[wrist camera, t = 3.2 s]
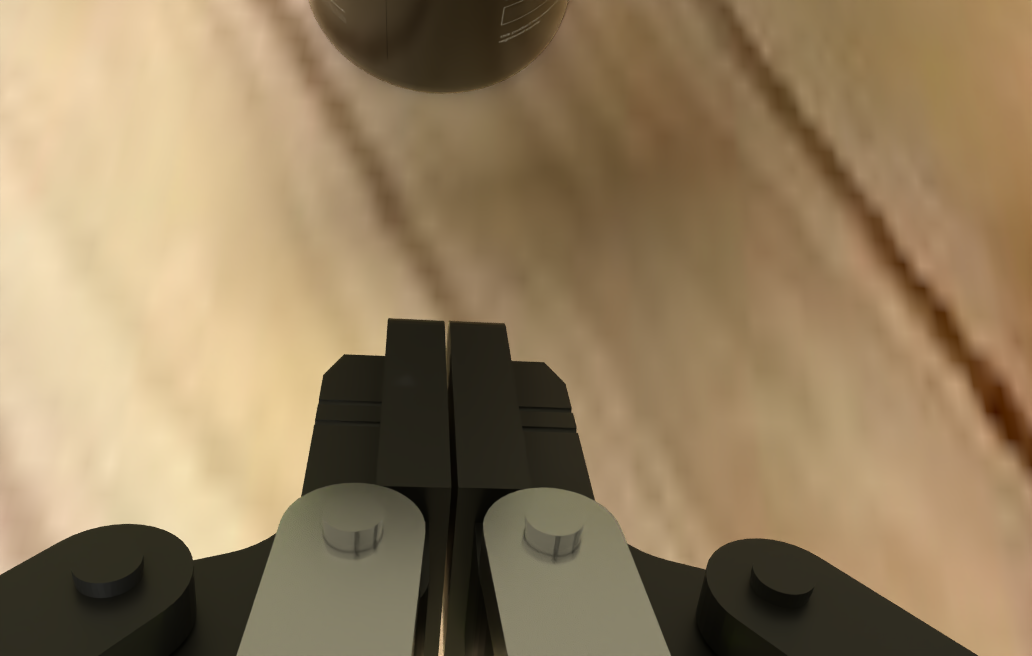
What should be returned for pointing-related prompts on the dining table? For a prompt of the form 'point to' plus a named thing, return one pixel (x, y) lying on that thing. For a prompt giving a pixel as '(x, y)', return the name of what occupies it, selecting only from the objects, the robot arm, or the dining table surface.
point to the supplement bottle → (440, 39)
